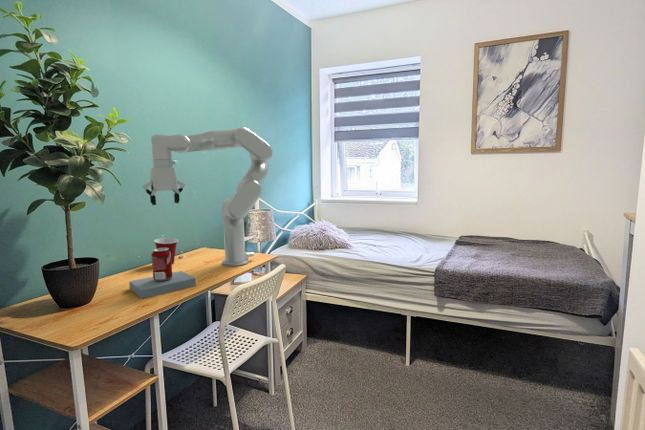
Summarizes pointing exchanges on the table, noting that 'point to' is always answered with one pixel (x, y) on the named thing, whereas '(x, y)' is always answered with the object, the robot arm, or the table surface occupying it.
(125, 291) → the table surface
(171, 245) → the plastic cup
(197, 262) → the table surface
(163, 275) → the soda can
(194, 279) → the block
